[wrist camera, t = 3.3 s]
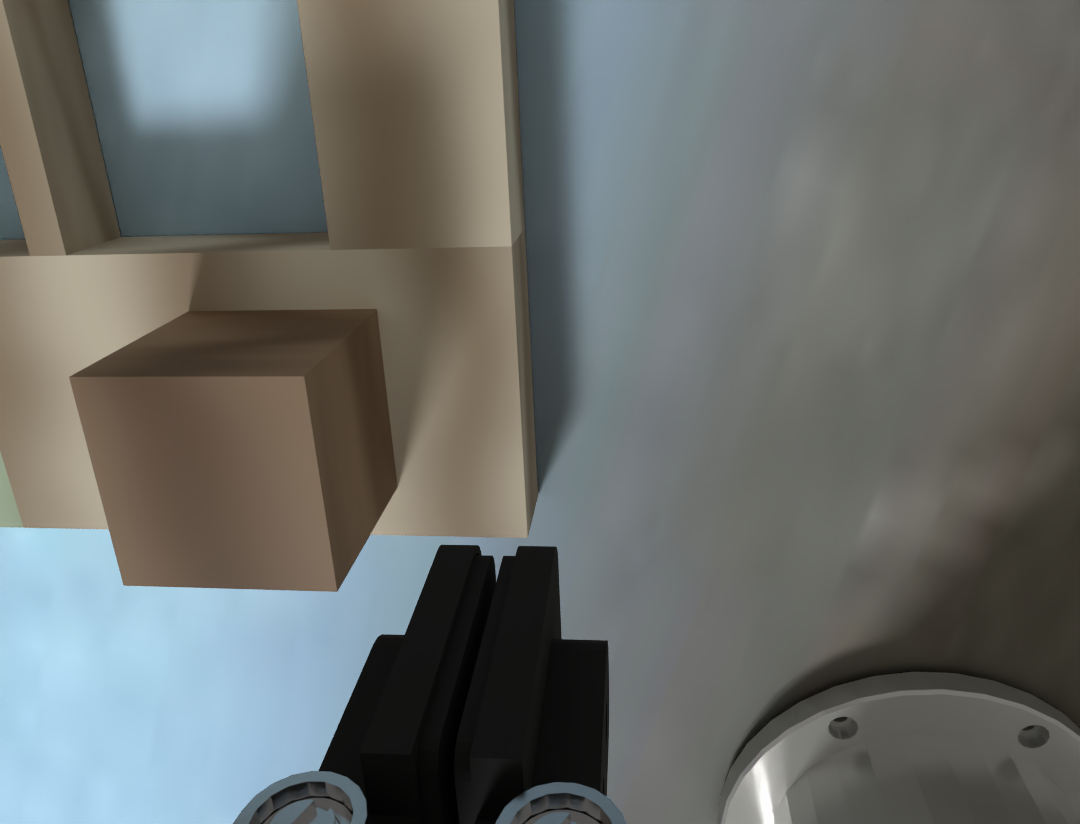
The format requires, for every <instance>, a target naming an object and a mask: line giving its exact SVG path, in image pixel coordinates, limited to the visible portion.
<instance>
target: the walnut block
mask: <svg viewBox="0 0 1080 824" xmlns="http://www.w3.org/2000/svg"><path fill="white" fill-rule="evenodd" d="M69 379H70V383H71V387H72V391H73V394H74V398H75V402H76V406H77V410H78V413H79V417H80V421H81V425H82V429H83V432H84V436H85V440H86V444H87V448H88V452H89V455H90V459H91V463H92V467H93V471H94V474H95V478H96V482H97V486H98V490H99V493H100V497H101V501H102V505H103V509H104V512H105V516H106V520H107V524H108V528H109V531H110V535H111V539H112V543H113V547H114V550H115V554H116V558H117V562H118V566H119V570H120V573H121V577H122V581H123V585H126V586H161V587H195V588H230V589H264V590H299V591H334V592H337V591H338V589H339V588H340V586H341V584H342V583H343V581H344V579H345V577H346V576H347V574H348V572H349V570H350V569H351V567H352V565H353V564H354V562H355V560H356V558H357V557H358V555H359V553H360V551H361V550H362V548H363V546H364V545H365V543H366V541H367V539H368V538H369V536H370V534H371V532H372V531H373V529H374V527H375V525H376V524H377V522H378V520H379V519H380V517H381V515H382V513H383V512H384V510H385V508H386V506H387V505H388V503H389V501H390V500H391V498H392V496H393V494H394V493H395V491H396V489H397V487H398V486H397V478H396V469H395V460H394V452H393V443H392V435H391V426H390V418H389V409H388V400H387V392H386V383H385V375H384V366H383V358H382V349H381V340H380V332H379V323H378V315H377V309H329V310H245V311H188V312H186V313H184V314H182V315H181V316H179V317H177V318H175V319H173V320H172V321H170V322H168V323H166V324H164V325H162V326H161V327H159V328H157V329H155V330H153V331H152V332H150V333H148V334H146V335H144V336H142V337H141V338H139V339H137V340H135V341H133V342H132V343H130V344H128V345H126V346H124V347H122V348H121V349H119V350H117V351H115V352H113V353H111V354H110V355H108V356H106V357H104V358H102V359H101V360H99V361H97V362H95V363H93V364H91V365H90V366H88V367H86V368H84V369H82V370H81V371H79V372H77V373H75V374H73V375H71V376H70V377H69Z"/></svg>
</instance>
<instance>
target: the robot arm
mask: <svg viewBox="0 0 1080 824" xmlns="http://www.w3.org/2000/svg"><path fill="white" fill-rule="evenodd" d="M608 741H609V661H608V641H600V640H564V639H561V617H560V594H559V570H558V552H557V547H545V546H519V547H518V549H517V552H516V556H503V559H502V562H501V566H500V570H499V574H498V578H497V582H496V574H495V563H494V558H493V556H481V550H480V547H479V546H478V545H440V547H439V548H438V551H437V553H436V556H435V558H434V561H433V564H432V566H431V569H430V571H429V574H428V576H427V579H426V582H425V584H424V587H423V589H422V592H421V594H420V597H419V600H418V602H417V605H416V607H415V610H414V613H413V615H412V618H411V620H410V623H409V625H408V628H407V631H406V633H405V635H383V634H382V635H380V636H379V637H378V638H377V639H376V641H375V643H374V644H373V647H372V649H371V651H370V654H369V656H368V658H367V661H366V663H365V665H364V667H363V670H362V672H361V674H360V677H359V679H358V681H357V684H356V686H355V688H354V690H353V693H352V695H351V697H350V700H349V702H348V704H347V707H346V709H345V711H344V714H343V716H342V718H341V720H340V723H339V725H338V727H337V730H336V732H335V734H334V737H333V739H332V741H331V744H330V746H329V748H328V750H327V753H326V755H325V757H324V760H323V762H322V764H321V767H320V769H319V771H310V772H305V773H300V774H295V775H291V776H289V777H286V778H284V779H282V780H279V781H277V782H275V783H273V784H271V785H270V786H268V787H267V788H266V789H264V790H263V791H261V792H260V793H258V794H257V795H256V796H255V797H254V798H253V799H252V800H251V801H250V802H249V803H248V804H247V806H246V807H245V808H244V809H243V810H242V811H241V813H240V814H239V816H238V817H237V818H236V820H235V821H234V823H233V824H626V822H625V819H624V816H623V814H622V812H621V811H620V810H619V809H618V808H617V806H616V805H615V804H614V803H613V801H612V800H611V799H609V798H608V797H607V770H608ZM718 824H1080V728H1079V727H1078V726H1077V725H1076V724H1074V723H1073V722H1072V721H1071V720H1070V719H1069V718H1068V717H1067V716H1066V715H1064V714H1063V713H1062V712H1061V711H1059V710H1057V709H1055V708H1054V707H1052V706H1050V705H1049V704H1047V703H1045V702H1044V701H1042V700H1040V699H1038V698H1037V697H1035V696H1033V695H1032V694H1029V693H1027V692H1024V691H1021V690H1019V689H1016V688H1013V687H1010V686H1008V685H1005V684H1002V683H999V682H997V681H993V680H988V679H983V678H978V677H973V676H967V675H962V674H957V673H938V672H906V673H897V674H888V675H879V676H872V677H868V678H864V679H860V680H857V681H853V682H849V683H845V684H842V685H838V686H834V687H832V688H830V689H827V690H825V691H823V692H821V693H818V694H816V695H814V696H812V697H809V698H807V699H805V700H802V701H800V702H799V703H797V704H796V705H794V706H793V707H791V708H790V709H788V710H786V711H785V712H783V713H782V714H780V715H779V716H777V717H776V718H774V719H773V720H771V721H770V722H769V723H768V724H767V725H766V726H765V727H764V728H763V729H762V730H761V731H760V732H759V733H758V734H757V735H756V736H755V737H753V738H752V739H751V740H750V741H749V742H748V743H747V745H746V746H745V748H744V749H743V751H742V752H741V753H740V755H739V756H738V758H737V759H736V761H735V762H734V764H733V765H732V767H731V768H730V771H729V773H728V776H727V779H726V781H725V784H724V787H723V789H722V792H721V795H720V803H719V812H718Z"/></svg>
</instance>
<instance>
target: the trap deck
mask: <svg viewBox="0 0 1080 824" xmlns="http://www.w3.org/2000/svg"><path fill="white" fill-rule="evenodd" d="M297 5H298V12H299V20H300V27H301V35H302V42H303V50H304V57H305V64H306V72H307V79H308V87H309V94H310V102H311V109H312V117H313V124H314V132H315V139H316V147H317V154H318V161H319V169H320V176H321V184H322V191H323V199H324V206H325V214H326V221H327V229H328V232H314V233H271V234H227V235H184V236H140V237H121V235H120V230H119V226H118V221H117V217H116V212H115V208H114V204H113V199H112V195H111V190H110V186H109V181H108V177H107V172H106V168H105V163H104V159H103V154H102V150H101V146H100V141H99V137H98V132H97V128H96V123H95V119H94V114H93V110H92V105H91V101H90V96H89V92H88V88H87V83H86V79H85V74H84V70H83V65H82V61H81V56H80V52H79V47H78V43H77V38H76V34H75V30H74V25H73V21H72V16H71V12H70V7H69V3H68V0H0V145H1V149H2V153H3V157H4V160H5V164H6V168H7V172H8V175H9V179H10V183H11V187H12V190H13V194H14V198H15V202H16V205H17V209H18V213H19V217H20V221H21V224H22V228H23V232H24V236H25V239H10V240H0V527H25V528H73V529H109V528H108V524H107V520H106V516H105V512H104V509H103V505H102V501H101V497H100V493H99V490H98V486H97V482H96V478H95V474H94V471H93V467H92V463H91V459H90V455H89V452H88V448H87V444H86V440H85V436H84V432H83V429H82V425H81V421H80V417H79V413H78V410H77V406H76V402H75V398H74V394H73V391H72V387H71V383H70V379H69V377H70V376H71V375H73V374H75V373H77V372H79V371H81V370H82V369H84V368H86V367H88V366H90V365H91V364H93V363H95V362H97V361H99V360H101V359H102V358H104V357H106V356H108V355H110V354H111V353H113V352H115V351H117V350H119V349H121V348H122V347H124V346H126V345H128V344H130V343H132V342H133V341H135V340H137V339H139V338H141V337H142V336H144V335H146V334H148V333H150V332H152V331H153V330H155V329H157V328H159V327H161V326H162V325H164V324H166V323H168V322H170V321H172V320H173V319H175V318H177V317H179V316H181V315H182V314H184V313H186V312H188V311H245V310H329V309H377V315H378V323H379V332H380V340H381V349H382V358H383V366H384V375H385V383H386V392H387V400H388V409H389V418H390V426H391V435H392V443H393V452H394V460H395V469H396V478H397V486H398V487H397V489H396V491H395V493H394V494H393V496H392V498H391V500H390V501H389V503H388V505H387V506H386V508H385V510H384V512H383V513H382V515H381V517H380V519H379V520H378V522H377V524H376V525H375V527H374V529H373V531H372V532H371V534H370V535H413V536H462V537H510V538H528V534H529V530H530V526H531V522H532V518H533V514H534V510H535V506H536V502H537V497H538V485H537V464H536V444H535V423H534V403H533V382H532V361H531V341H530V320H529V300H528V279H527V258H526V238H525V217H524V197H523V176H522V155H521V135H520V114H519V94H518V73H517V52H516V32H515V11H514V0H297Z"/></svg>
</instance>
